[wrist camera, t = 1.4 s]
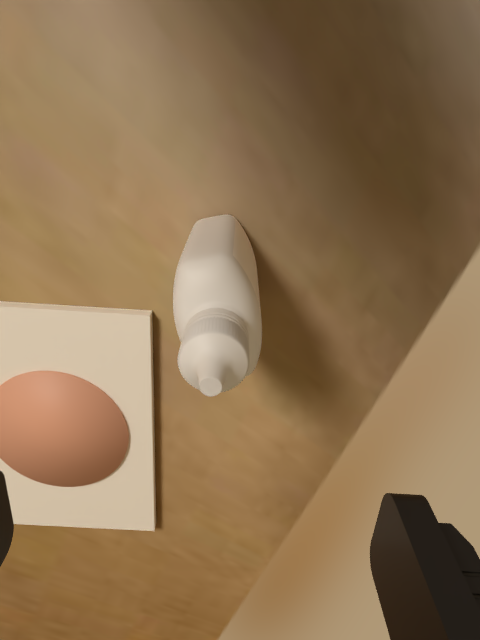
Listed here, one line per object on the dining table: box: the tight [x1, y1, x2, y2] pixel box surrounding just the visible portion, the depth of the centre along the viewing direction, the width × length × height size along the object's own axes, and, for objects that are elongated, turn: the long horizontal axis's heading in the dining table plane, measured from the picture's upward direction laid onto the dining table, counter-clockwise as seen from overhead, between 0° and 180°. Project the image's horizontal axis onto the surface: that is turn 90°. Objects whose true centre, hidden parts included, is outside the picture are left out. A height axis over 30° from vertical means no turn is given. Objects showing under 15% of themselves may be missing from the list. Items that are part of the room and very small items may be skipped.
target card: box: [0, 301, 156, 531], centre depth 29 cm, size 17×12×1 cm
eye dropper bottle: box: [173, 214, 262, 396], centre depth 19 cm, size 4×6×12 cm
